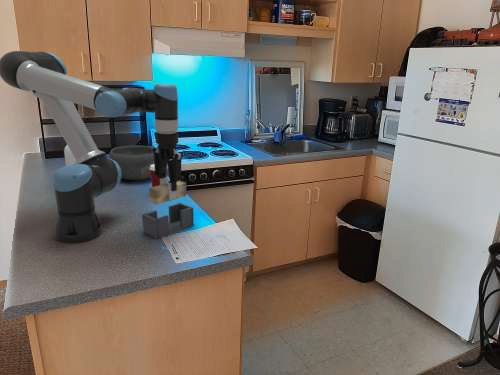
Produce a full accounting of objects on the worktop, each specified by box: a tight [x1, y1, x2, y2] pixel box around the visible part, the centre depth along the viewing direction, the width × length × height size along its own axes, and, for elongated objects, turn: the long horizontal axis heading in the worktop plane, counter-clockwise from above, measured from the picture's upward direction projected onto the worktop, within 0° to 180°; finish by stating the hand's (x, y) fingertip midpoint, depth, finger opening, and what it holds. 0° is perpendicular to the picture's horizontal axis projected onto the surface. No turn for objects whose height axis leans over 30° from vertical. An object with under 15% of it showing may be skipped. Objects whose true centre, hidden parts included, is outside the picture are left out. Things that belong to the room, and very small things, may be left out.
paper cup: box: [149, 164, 168, 187], centre depth 171 cm, size 8×8×14 cm
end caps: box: [141, 202, 195, 240], centre depth 138 cm, size 17×8×7 cm, turn 140°
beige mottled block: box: [148, 181, 187, 206], centre depth 135 cm, size 13×4×5 cm, turn 139°
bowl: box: [108, 145, 155, 181], centre depth 195 cm, size 24×24×15 cm
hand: (168, 197), depth 135 cm, fingers closed on beige mottled block, 4 cm apart
